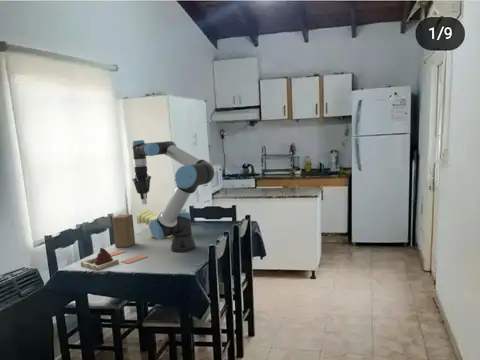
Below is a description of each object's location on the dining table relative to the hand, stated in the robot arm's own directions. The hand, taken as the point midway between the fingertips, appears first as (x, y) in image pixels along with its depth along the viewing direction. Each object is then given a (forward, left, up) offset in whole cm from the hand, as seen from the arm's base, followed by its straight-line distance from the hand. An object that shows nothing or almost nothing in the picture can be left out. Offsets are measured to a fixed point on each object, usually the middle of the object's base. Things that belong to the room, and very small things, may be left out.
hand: (144, 204), depth 254 cm
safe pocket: (+3, +31, -29) cm, 43 cm away
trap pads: (+3, +16, -29) cm, 34 cm away
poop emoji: (+3, +29, -29) cm, 42 cm away
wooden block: (+24, 0, -29) cm, 38 cm away
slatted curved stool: (+20, -29, -29) cm, 46 cm away
